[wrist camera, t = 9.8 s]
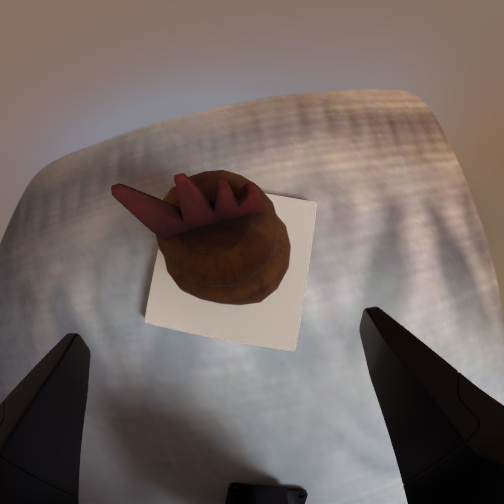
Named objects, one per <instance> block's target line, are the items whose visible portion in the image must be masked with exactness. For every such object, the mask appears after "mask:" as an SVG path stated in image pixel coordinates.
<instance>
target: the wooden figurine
mask: <svg viewBox="0 0 504 504" xmlns="http://www.w3.org/2000/svg"><path fill="white" fill-rule="evenodd" d="M174 181H175V186H174V187H173V188H171V190H170V191H169V193H168V194H167V195H166V197H165V198H164V200H161V199H158V198H156V197H153V196H151V195H148V194H146V193H143V192H141V191H138V190H136V189H133V188H131V187H128V186H126V185H123V184H116V185H113V186H112V187H111V190H112V195H113V196H114V197H115V198H116V199H117V200H118V201H119V202H120V203H121V204H122V205H123V206H124V207H126V208H127V209H128V210H129V211H130V212H131V213H132V214H133V215H134V216H135V217H136V218H138V219H139V220H140V221H141V222H142V223H143V224H144V225H145V226H146V227H148V228H149V229H150V230H151V231H152V232H153V233H155V234H156V237H157V241H158V245H159V249H160V251H161V253H162V254H163V255H164V259H165V263H166V268H167V272H168V273H169V275H170V276H171V277H172V279H173V280H174V282H175V283H176V284H177V286H178V287H179V288H180V289H181V290H182V291H184V292H186V293H188V294H190V295H192V296H194V297H197V298H199V299H201V300H206V301H210V302H215V303H220V304H230V305H246V304H253V303H260V302H262V301H263V300H264V299H265V298H267V297H268V296H269V295H270V294H272V293H273V292H274V291H275V290H277V289H278V287H279V285H280V283H281V281H282V279H283V277H284V276H285V274H286V272H287V270H288V268H289V261H290V251H291V245H290V241H289V236H288V232H287V228H286V225H285V224H284V223H283V222H282V220H281V219H280V218H279V217H278V216H277V214H276V211H275V208H274V205H273V202H272V201H271V200H270V199H269V198H268V196H267V195H266V194H265V193H264V192H263V191H262V190H261V188H260V187H258V186H257V185H256V184H255V183H253V182H251V181H250V180H248V179H246V178H244V177H243V176H241V175H238V174H235V173H232V172H228V171H224V170H218V171H206V172H202V173H199V174H196V175H193V176H190V177H187V176H186V175H185V174H183V173H181V174H177V175H175V176H174Z"/></svg>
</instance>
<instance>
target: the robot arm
mask: <svg viewBox="0 0 504 504" xmlns="http://www.w3.org/2000/svg"><path fill="white" fill-rule="evenodd" d="M360 336H361V340H362V344H363V348H364V353H365V357H366V361H367V366H368V370H369V374H370V378H371V381H372V384H373V387H374V390H375V393H376V395H377V398H378V401H379V404H380V408H381V411H382V414H383V417H384V420H385V423H386V426H387V429H388V433H389V436H390V439H391V443H392V446H393V449H394V453H395V456H396V460H397V463H398V467H399V470H400V474H401V478H402V482H403V484H404V485H403V486H404V490H405V494H406V498H407V502H408V504H504V405H502V404H501V403H499V402H498V401H496V400H495V399H493V398H492V397H490V396H489V395H488V394H486V393H485V392H484V391H482V390H481V389H479V388H478V387H477V386H476V385H474V384H473V383H472V382H471V381H469V380H468V379H467V378H466V377H464V376H463V375H462V374H461V373H458V371H457V370H456V369H455V368H453V367H452V366H451V365H450V364H449V363H447V362H446V361H445V360H444V359H443V358H441V357H440V356H439V355H438V354H436V353H435V352H434V351H433V350H432V349H430V348H429V347H428V346H427V345H425V344H424V343H423V342H422V341H420V340H419V339H418V338H417V337H415V336H414V335H413V334H412V333H410V332H409V331H408V330H407V329H405V328H404V327H403V326H402V325H400V324H399V323H398V322H397V321H395V320H394V319H393V318H392V317H390V316H389V315H388V314H386V313H385V312H384V311H383V310H381V309H380V308H379V307H370V308H366V309H364V311H363V315H362V319H361V323H360ZM89 366H90V350H89V348H88V346H87V345H86V343H85V342H84V340H83V339H82V337H81V336H80V335H79V334H77V333H69V334H67V335H66V336H65V337H64V338H63V339H62V340H61V341H60V342H59V343H58V344H57V345H56V346H55V347H54V348H53V349H52V350H51V351H50V352H49V353H48V354H47V355H46V356H45V357H44V358H43V359H42V360H41V361H40V362H39V363H38V364H37V365H36V366H35V367H34V368H33V369H32V370H31V371H30V372H29V373H28V374H27V376H26V377H25V378H24V379H23V380H22V381H21V382H20V383H19V384H18V385H17V386H16V387H15V389H14V390H13V391H12V392H11V393H10V394H9V395H8V396H7V397H6V398H5V400H4V401H3V402H2V403H1V404H0V504H78V491H79V468H80V453H81V442H82V432H83V424H84V416H85V409H86V402H87V393H88V379H89ZM233 487H236V488H237V489H233ZM300 494H303V495H301V496H300ZM306 499H307V492H306V490H303V489H287V488H281V487H270V486H260V485H256V486H255V485H247V484H240V483H231V484H230V485H229V488H228V493H227V498H226V503H225V504H305V501H306Z"/></svg>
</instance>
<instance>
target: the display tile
mask: <svg viewBox="0 0 504 504" xmlns="http://www.w3.org/2000/svg"><path fill="white" fill-rule="evenodd" d="M174 186H175V185H174ZM265 194H266V193H265ZM266 195H267V196H268V198H269V199H270V200H271V201H272V202H273V205H274V208H275V211H276V214H277V216H278V217H279V218H280V219H281V220H282V222H283V223H284V224H285V225H286V228H287V232H288V236H289V241H290V245H291V251H290V261H289V268H288V270H287V272H286V274H285V276H284V277H283V279H282V281H281V283H280V285H279V287H278V289H277V290H275V291H274V292H273V293H272V294H270V295H269V296H268V297H267V298H265V299H264V300H263V301H262V302H260V303H253V304H246V305H230V304H220V303H215V302H210V301H206V300H201V299H199V298H197V297H194V296H192V295H190V294H188V293H186V292H184V291H182V290H181V289H180V288H179V287H178V286H177V284H176V283H175V282H174V280H173V279H172V277H171V276H170V275H169V273H168V272H167V268H166V263H165V259H164V255H163V254H162V253H161V251H160V249H158V253H157V258H156V263H155V267H154V272H153V277H152V282H151V287H150V293H149V298H148V304H147V309H146V315H145V321H144V322H145V323H149V324H153V325H157V326H161V327H165V328H169V329H174V330H178V331H183V332H187V333H192V334H196V335H201V336H206V337H211V338H216V339H221V340H226V341H232V342H237V343H243V344H249V345H255V346H261V347H267V348H273V349H280V350H287V351H294V352H295V350H296V344H297V339H298V333H299V327H300V322H301V316H302V309H303V303H304V297H305V290H306V284H307V277H308V270H309V263H310V256H311V249H312V241H313V233H314V225H315V217H316V208H317V202H312V201H306V200H301V199H295V198H290V197H284V196H278V195H272V194H266Z"/></svg>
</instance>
